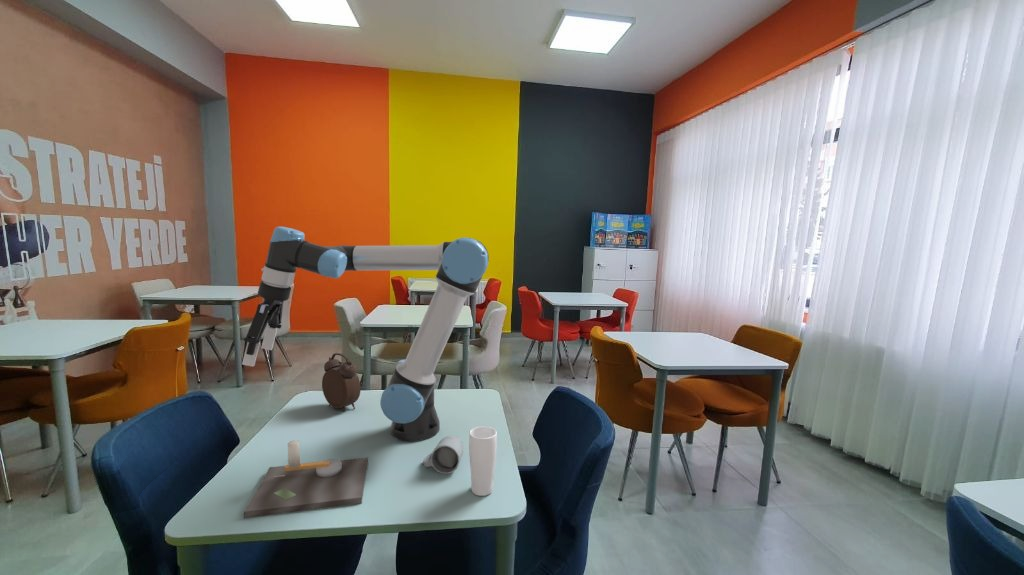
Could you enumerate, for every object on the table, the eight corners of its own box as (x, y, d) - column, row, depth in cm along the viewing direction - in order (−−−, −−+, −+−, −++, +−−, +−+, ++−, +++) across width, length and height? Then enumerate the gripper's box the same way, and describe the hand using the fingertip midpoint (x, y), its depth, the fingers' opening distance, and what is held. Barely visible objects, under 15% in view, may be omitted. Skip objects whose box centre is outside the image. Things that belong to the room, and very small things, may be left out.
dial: (343, 463, 109) (342, 433, 108) (340, 475, 103) (339, 444, 102) (289, 468, 106) (287, 437, 105) (282, 482, 100) (281, 449, 99)
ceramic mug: (464, 458, 116) (464, 432, 115) (459, 475, 108) (459, 446, 107) (427, 457, 117) (427, 431, 116) (419, 473, 109) (418, 445, 108)
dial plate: (368, 462, 113) (368, 457, 113) (361, 503, 95) (361, 496, 95) (270, 472, 107) (269, 466, 107) (243, 518, 89) (243, 511, 89)
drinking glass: (499, 496, 99) (500, 437, 98) (471, 501, 97) (472, 440, 96) (492, 480, 106) (493, 424, 104) (466, 484, 104) (466, 427, 102)
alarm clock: (364, 409, 148) (363, 354, 145) (346, 416, 141) (345, 359, 139) (338, 400, 155) (337, 348, 153) (320, 406, 149) (319, 352, 147)
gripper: (276, 273, 124) (259, 340, 126) (242, 287, 100) (222, 369, 102) (303, 280, 125) (286, 345, 128) (276, 295, 101) (255, 376, 104)
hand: (257, 356), depth 115 cm, fingers open, 13 cm apart
